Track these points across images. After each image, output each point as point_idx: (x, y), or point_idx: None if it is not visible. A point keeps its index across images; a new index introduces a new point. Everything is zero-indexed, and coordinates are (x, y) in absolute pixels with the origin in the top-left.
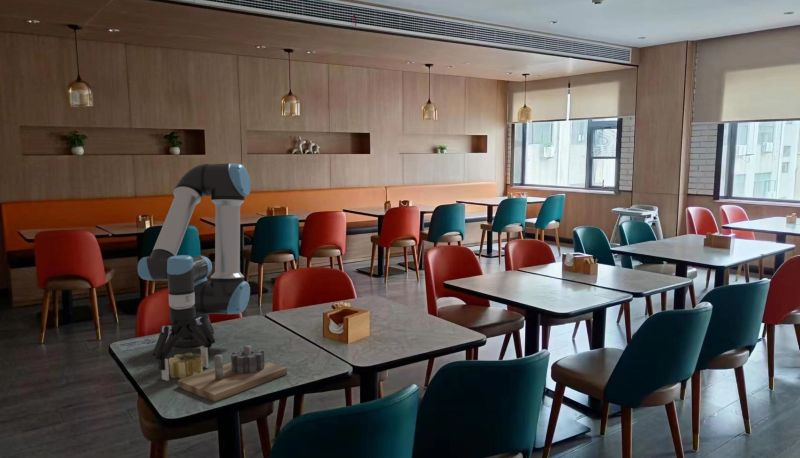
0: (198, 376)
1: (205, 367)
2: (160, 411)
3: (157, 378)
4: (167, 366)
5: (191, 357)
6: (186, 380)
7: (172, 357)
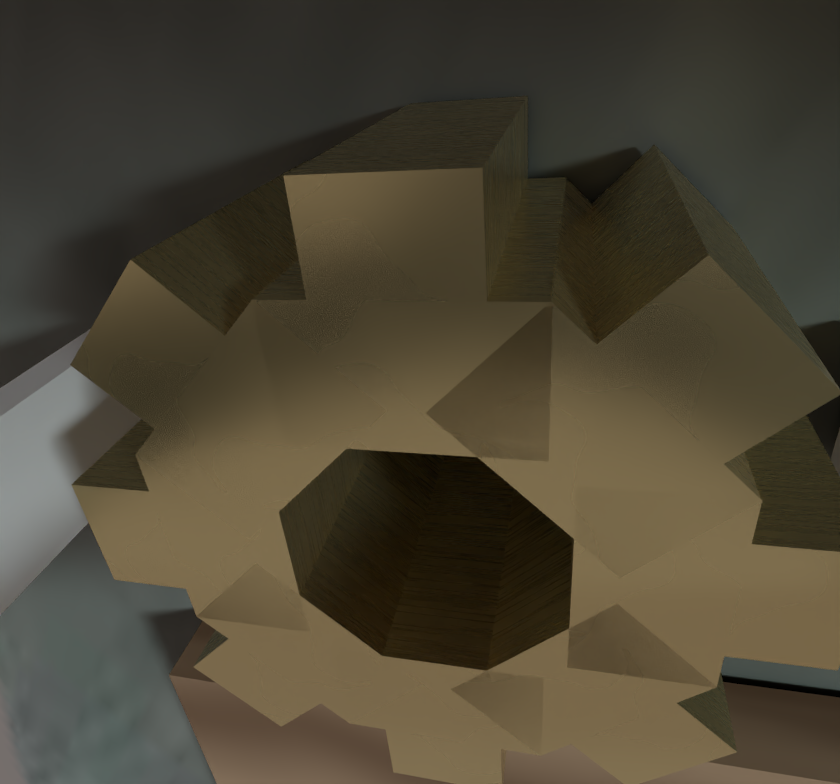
0: (384, 764)
1: (838, 439)
2: (17, 755)
3: (83, 179)
4: (26, 570)
5: (520, 653)
6: (243, 734)
7: (184, 309)
